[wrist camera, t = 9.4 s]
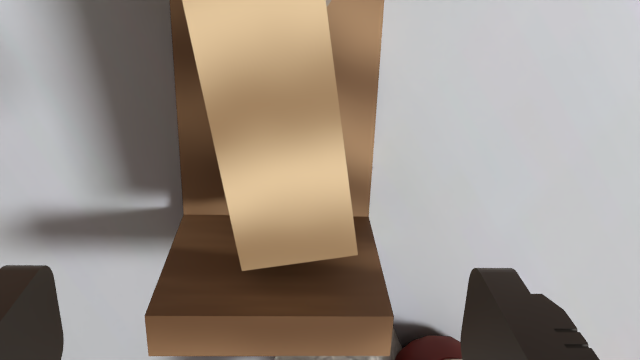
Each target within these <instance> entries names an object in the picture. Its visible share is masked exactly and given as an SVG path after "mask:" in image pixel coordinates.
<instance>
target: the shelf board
mask: <svg viewBox="0 0 640 360" xmlns="http://www.w3.org/2000/svg"><path fill="white" fill-rule="evenodd" d="M182 2H183V7H184V11H185V16H186V20H187V25H188V29H189V34H190V38H191V43H192V47H193V52H194V56H195V61H196V66H197V70H198V75H199V79H200V84H201V88H202V93H203V97H204V102H205V106H206V111H207V115H208V120H209V124H210V129H211V133H212V138H213V143H214V147H215V152H216V156H217V161H218V165H219V170H220V174H221V179H222V183H223V188H224V192H225V197H226V201H227V206H228V210H229V215H230V220H231V224H232V229H233V233H234V238H235V242H236V247H237V251H238V256H239V260H240V265H241V269H242V271H246V270H253V269H261V268H268V267H275V266H282V265H290V264H297V263H304V262H311V261H319V260H326V259H333V258H340V257H348V256H355V255H358V251H357V243H356V235H355V227H354V220H353V212H352V204H351V196H350V188H349V180H348V172H347V165H346V157H345V149H344V141H343V133H342V125H341V117H340V110H339V102H338V94H337V86H336V78H335V70H334V62H333V54H332V47H331V39H330V31H329V23H328V15H327V7H326V0H182Z"/></svg>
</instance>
